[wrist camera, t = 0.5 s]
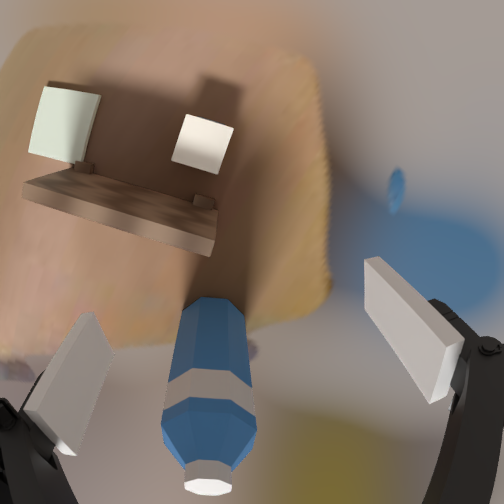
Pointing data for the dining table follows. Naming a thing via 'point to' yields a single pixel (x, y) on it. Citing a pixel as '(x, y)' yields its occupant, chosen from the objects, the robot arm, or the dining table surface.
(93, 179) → the walnut screen
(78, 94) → the coaster
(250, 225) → the dining table surface
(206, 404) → the water bottle
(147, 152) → the dining table surface
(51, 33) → the dining table surface
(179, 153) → the white cube
